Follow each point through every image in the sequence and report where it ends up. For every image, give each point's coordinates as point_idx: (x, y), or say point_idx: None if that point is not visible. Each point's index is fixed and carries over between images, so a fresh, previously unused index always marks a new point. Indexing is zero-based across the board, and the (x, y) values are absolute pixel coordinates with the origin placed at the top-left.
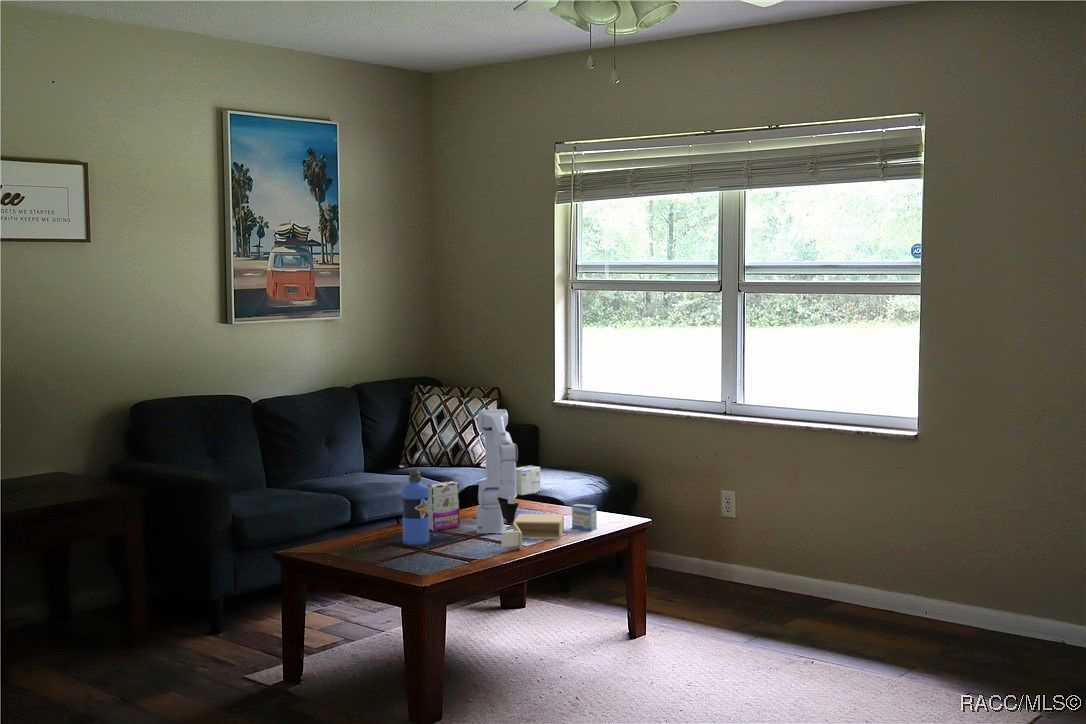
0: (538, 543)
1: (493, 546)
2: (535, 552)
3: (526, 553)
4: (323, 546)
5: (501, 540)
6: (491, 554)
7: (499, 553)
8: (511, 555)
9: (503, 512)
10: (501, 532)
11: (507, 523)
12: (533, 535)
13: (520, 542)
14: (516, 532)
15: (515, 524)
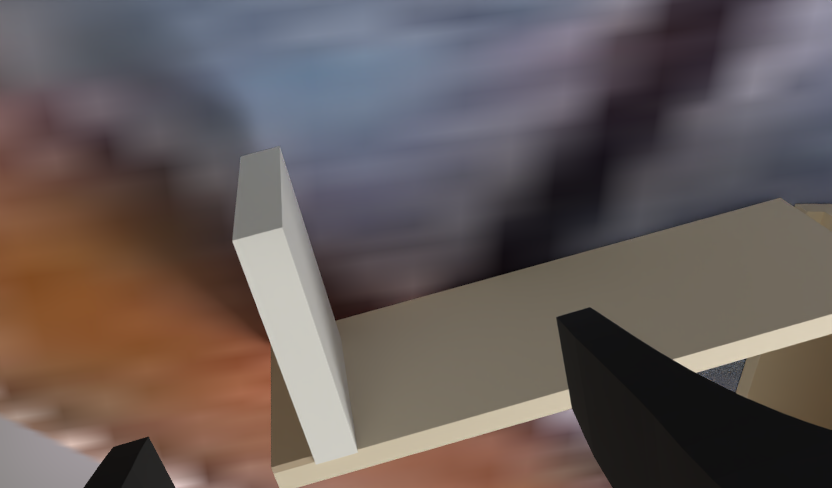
0: (557, 443)
1: (455, 4)
2: (197, 475)
3: (141, 408)
4: None
5: (275, 175)
6: (12, 28)
7: (89, 128)
8: (16, 278)
9: (610, 397)
10: (261, 230)
11: (104, 462)
12: (813, 379)
13: (272, 389)
14: (302, 423)
15: (773, 340)
